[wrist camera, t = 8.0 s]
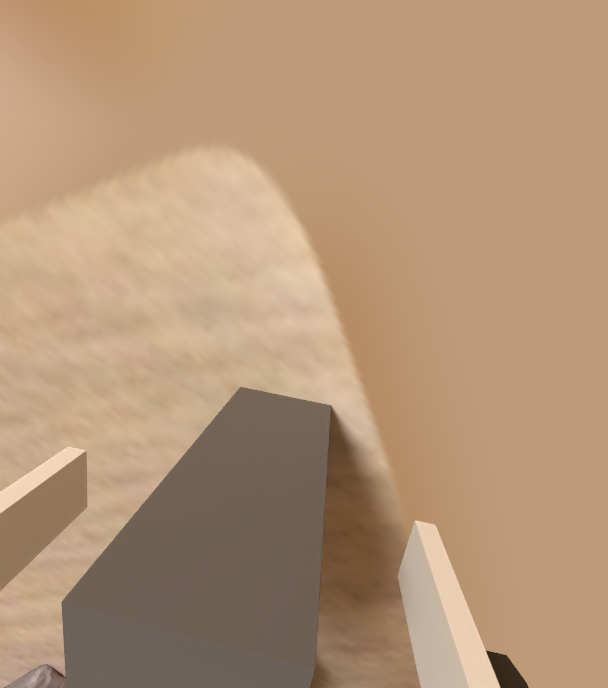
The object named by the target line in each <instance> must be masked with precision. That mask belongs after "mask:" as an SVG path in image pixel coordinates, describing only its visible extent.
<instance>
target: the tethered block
mask: <svg viewBox="0 0 608 688" xmlns="http://www.w3.org/2000/svg"><path fill="white" fill-rule="evenodd" d="M330 415H331V406H330V405H325V404H321V403H316V402H311V401H306V400H301V399H296V398H291V397H286V396H281V395H277V394H272V393H267V392H262V391H257V390H252V389H247V388H242V387H240V388H239V389H238V391H237V392H236V393H235V394H234V395H233V397H232V398H231V399H230V400H229V401H228V403H227V404H226V405H225V406H224V407H223V409H222V410H221V411H220V412H219V413H218V415H217V416H216V417H215V418H214V419H213V421H212V422H211V423H210V424H209V425H208V427H207V428H206V429H205V430H204V431H203V433H202V434H201V435H200V436H199V437H198V439H197V440H196V441H195V442H194V443H193V445H192V446H191V447H190V448H189V449H188V451H187V452H186V453H185V454H184V455H183V457H182V458H181V459H180V460H179V461H178V463H177V464H176V465H175V466H174V467H173V469H172V470H171V471H170V472H169V474H168V475H167V476H166V477H165V478H164V480H163V481H162V482H161V483H160V484H159V486H158V487H157V488H156V489H155V490H154V492H153V493H152V494H151V495H150V496H149V498H148V499H147V500H146V501H145V502H144V504H143V505H142V506H141V507H140V508H139V510H138V511H137V512H136V513H135V514H134V516H133V517H132V518H131V519H130V520H129V522H128V523H127V524H126V525H125V526H124V528H123V529H122V530H121V531H120V532H119V534H118V535H117V536H116V537H115V538H114V540H113V541H112V542H111V543H110V544H109V546H108V547H107V548H106V549H105V550H104V552H103V553H102V554H101V555H100V556H99V558H98V559H97V560H96V561H95V562H94V564H93V565H92V566H91V567H90V568H89V570H88V571H87V572H86V573H85V574H84V576H83V577H82V578H81V579H80V580H79V582H78V583H77V584H76V585H75V586H74V588H73V589H72V590H71V591H70V592H69V594H68V595H67V596H66V597H65V599H64V600H63V601H62V617H63V635H64V653H65V670H66V688H310V686H311V683H312V679H313V675H314V671H315V660H316V644H317V628H318V611H319V595H320V579H321V562H322V546H323V530H324V513H325V497H326V481H327V464H328V448H329V432H330Z"/></svg>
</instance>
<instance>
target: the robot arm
mask: <svg viewBox="0 0 608 688" xmlns="http://www.w3.org/2000/svg"><path fill="white" fill-rule="evenodd" d="M86 508H87V458H86V450H82V449H78V448H73V447H67V448H65V449H64V450H62V451H61V452H59V453H58V454H56V455H55V456H53V457H52V458H50V459H49V460H47V461H46V462H44V463H43V464H41V465H40V466H38V467H37V468H35V469H34V470H32V471H31V472H29V473H28V474H26V475H25V476H23V477H22V478H20V479H19V480H17V481H16V482H14V483H13V484H11V485H10V486H8V487H7V488H5V489H4V490H2V491H1V492H0V591H1V590H2V589H3V588H4V587H5V586H6V585H7V584H8V583H9V582H10V581H11V580H12V579H13V578H14V577H15V576H16V575H17V574H18V573H19V572H20V571H21V570H22V569H24V568H25V567H26V566H27V565H28V564H29V563H30V562H31V561H32V560H33V559H34V558H35V557H36V556H37V555H38V554H39V553H40V552H41V551H42V550H43V549H44V548H45V547H46V546H47V545H48V544H49V543H50V542H52V541H53V540H54V539H55V538H56V537H57V536H58V535H59V534H60V533H61V532H62V531H63V530H64V529H65V528H66V527H67V526H68V525H69V524H70V523H71V522H72V521H73V520H74V519H75V518H76V517H77V516H78V515H80V514H81V513H82V512H83V511H84V510H85V509H86ZM397 577H398V582H399V586H400V591H401V596H402V601H403V606H404V610H405V615H406V620H407V625H408V630H409V635H410V639H411V644H412V649H413V654H414V659H415V663H416V668H417V673H418V678H419V683H420V687H421V688H528V685H527V683H526V682H525V680H524V679H523V677H522V676H521V675H520V673H519V672H518V670H517V669H516V668H515V667H514V665H513V664H512V662H511V661H510V659H509V658H508V657H507V655H503V654H498V653H494V652H490V651H486V650H485V648H484V645H483V643H482V640H481V638H480V635H479V633H478V630H477V628H476V625H475V623H474V620H473V618H472V615H471V613H470V610H469V608H468V605H467V603H466V600H465V598H464V595H463V593H462V590H461V588H460V585H459V583H458V580H457V578H456V575H455V573H454V570H453V567H452V565H451V562H450V560H449V557H448V555H447V553H446V550H445V548H444V545H443V543H442V540H441V537H440V535H439V532H438V530H437V528H436V525H434V524H430V523H425V522H420V521H416V520H415V522H414V525H413V528H412V531H411V535H410V538H409V541H408V544H407V547H406V550H405V553H404V557H403V560H402V563H401V566H400V569H399V572H398V575H397Z"/></svg>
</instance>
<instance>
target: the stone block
mask: <svg viewBox="0 0 608 688" xmlns="http://www.w3.org/2000/svg"><path fill="white" fill-rule="evenodd" d="M5 688H66V678H65V677H64V676H61V675H60V674H59V673H58V672H57V671H56V670H55V669H54V668H52V667H51V666H50V665H48V664H44V665H41V666H39V667H37V668H36V669H34V670H32V671H30V672H29V673H27V674H26V675H24V676H23V677H21V678H19V679H18V680H16V681H15V682H13V683H11V684H10V685H8V686H7V687H5Z"/></svg>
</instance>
